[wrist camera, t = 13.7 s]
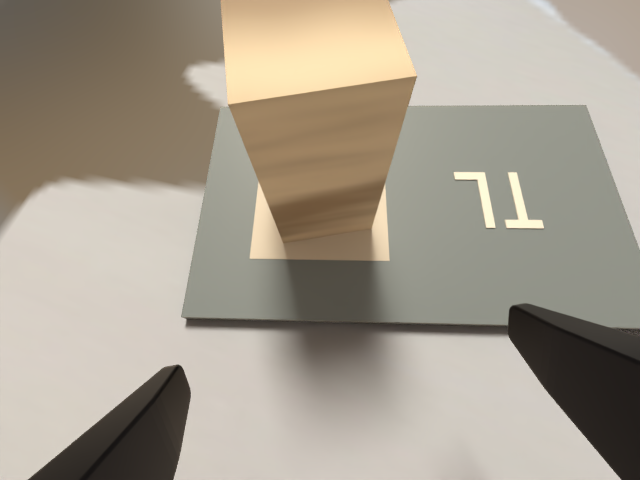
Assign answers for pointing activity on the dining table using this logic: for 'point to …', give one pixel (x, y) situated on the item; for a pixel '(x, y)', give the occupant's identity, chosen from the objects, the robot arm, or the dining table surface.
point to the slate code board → (433, 230)
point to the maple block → (317, 106)
